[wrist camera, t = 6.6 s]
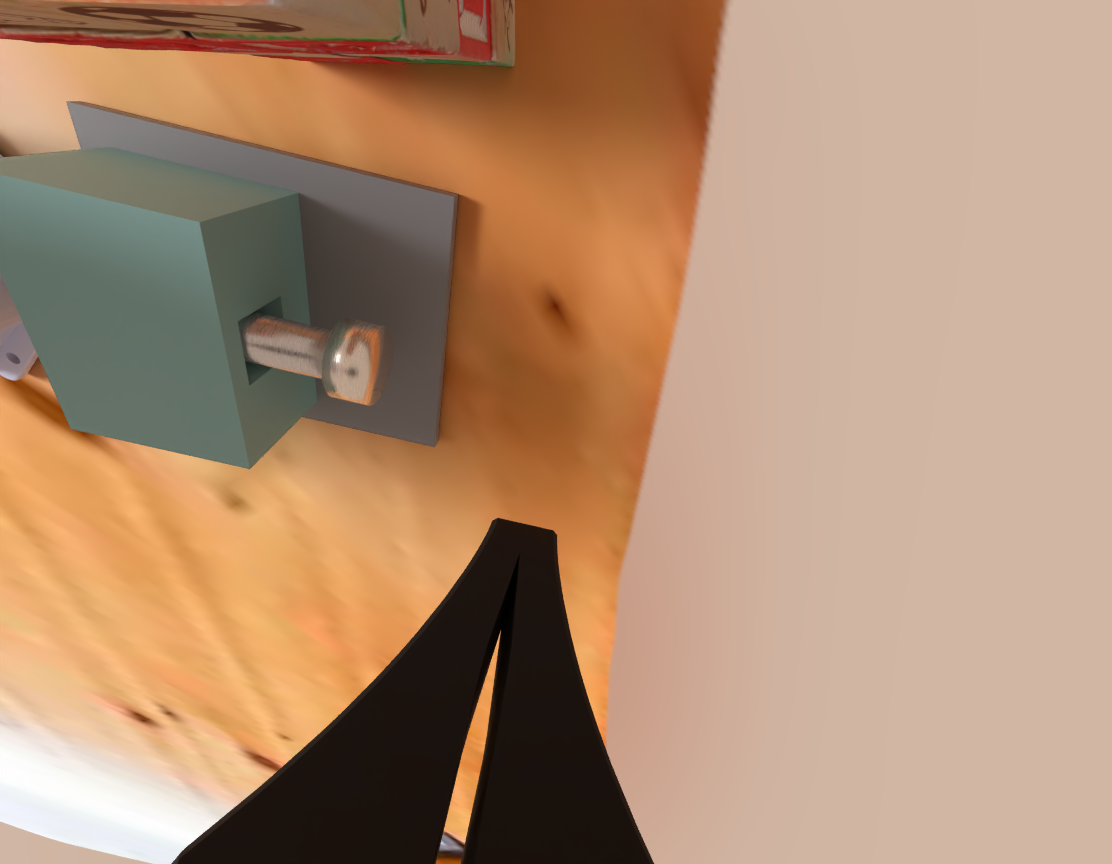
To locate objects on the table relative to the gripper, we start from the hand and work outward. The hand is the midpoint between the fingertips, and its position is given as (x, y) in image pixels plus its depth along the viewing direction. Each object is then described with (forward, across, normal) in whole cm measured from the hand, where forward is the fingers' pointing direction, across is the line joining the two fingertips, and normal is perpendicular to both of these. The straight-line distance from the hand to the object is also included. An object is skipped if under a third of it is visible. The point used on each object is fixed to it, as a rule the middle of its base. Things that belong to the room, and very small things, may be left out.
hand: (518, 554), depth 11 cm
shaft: (+8, +11, 0) cm, 13 cm away
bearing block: (+9, +10, 0) cm, 14 cm away
